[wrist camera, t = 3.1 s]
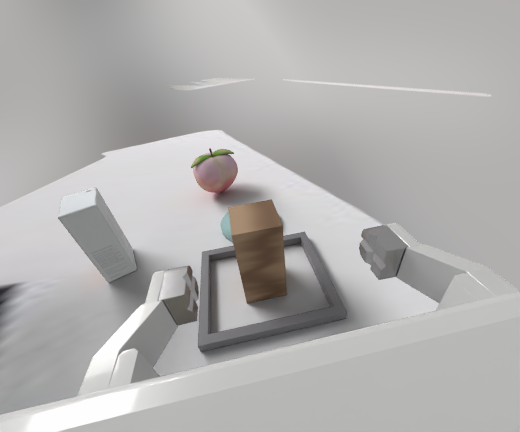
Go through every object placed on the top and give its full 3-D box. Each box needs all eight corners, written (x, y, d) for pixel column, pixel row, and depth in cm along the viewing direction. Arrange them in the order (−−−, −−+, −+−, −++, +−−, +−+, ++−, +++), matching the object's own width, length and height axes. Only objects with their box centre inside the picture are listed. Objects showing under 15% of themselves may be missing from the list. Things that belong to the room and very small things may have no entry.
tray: (200, 351, 24) (197, 346, 24) (204, 257, 36) (202, 251, 35) (345, 318, 26) (347, 312, 25) (304, 237, 37) (304, 231, 36)
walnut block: (247, 303, 29) (231, 235, 22) (242, 272, 33) (228, 207, 26) (286, 294, 29) (282, 225, 23) (277, 265, 33) (271, 199, 27)
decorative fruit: (226, 178, 57) (218, 138, 51) (247, 189, 52) (240, 145, 46) (192, 194, 53) (178, 151, 47) (210, 207, 47) (197, 160, 41)
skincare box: (105, 259, 38) (60, 196, 31) (133, 248, 39) (96, 185, 32) (107, 284, 33) (55, 217, 26) (138, 270, 35) (97, 204, 28)
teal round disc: (223, 249, 37) (221, 244, 36) (220, 214, 45) (219, 209, 44) (284, 237, 38) (284, 232, 37) (271, 204, 46) (271, 200, 45)
